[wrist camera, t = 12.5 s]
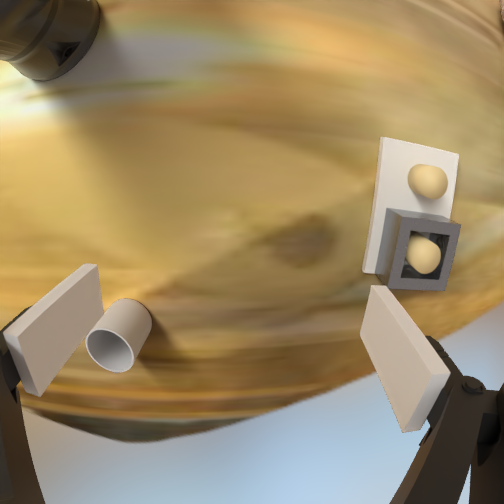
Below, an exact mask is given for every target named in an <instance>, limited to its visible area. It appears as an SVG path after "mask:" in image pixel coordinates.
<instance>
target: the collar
mask: <svg viewBox="0 0 504 504" xmlns="http://www.w3.org/2000/svg"><path fill="white" fill-rule="evenodd" d="M460 228H461V225H460V224H458V223H456V222H454V221H452V220H450V219H448V218H446V217H444V216H441V215H435V214H428V213H422V212H415V211H408V210H401V209H393V208H386V213H385V219H384V226H383V231H382V237H381V242H380V248H379V253H378V258H377V263H376V268H375V274H376V275H377V277H378V278H379V279H380V280H381V282H382V283H383V284H384V285H385V286H386V287H387V288H388V289H408V290H434V291H445V288H446V285H447V281H448V278H449V274H450V270H451V266H452V263H453V259H454V255H455V250H456V246H457V242H458V237H459V232H460ZM411 230H413V231H421V232H429V233H430V236H429V240H430V241H431V242H433V243H434V244H436V245H437V246H438V247H439V249H440V252H441V258H440V262H439V264H438V266H437V267H436V268H435V269H434V270H433V271H432V272H430V273H427V274H422V273H419V272H418V271H417V270H416V269H415V268H413V267H412V266H411V265H404V260H405V256H406V251H407V246H408V241H409V236H410V231H411Z"/></svg>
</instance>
